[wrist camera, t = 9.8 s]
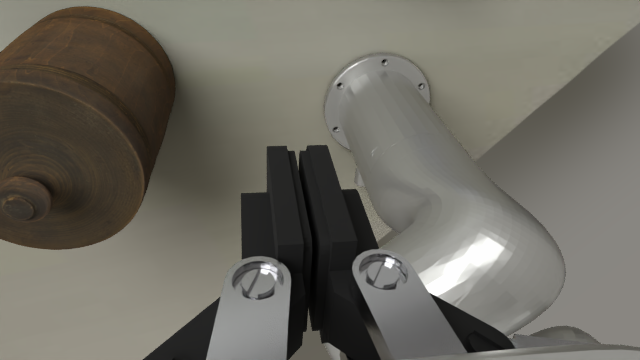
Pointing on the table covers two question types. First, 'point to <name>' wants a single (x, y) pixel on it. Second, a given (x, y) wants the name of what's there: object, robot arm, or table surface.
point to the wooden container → (79, 127)
